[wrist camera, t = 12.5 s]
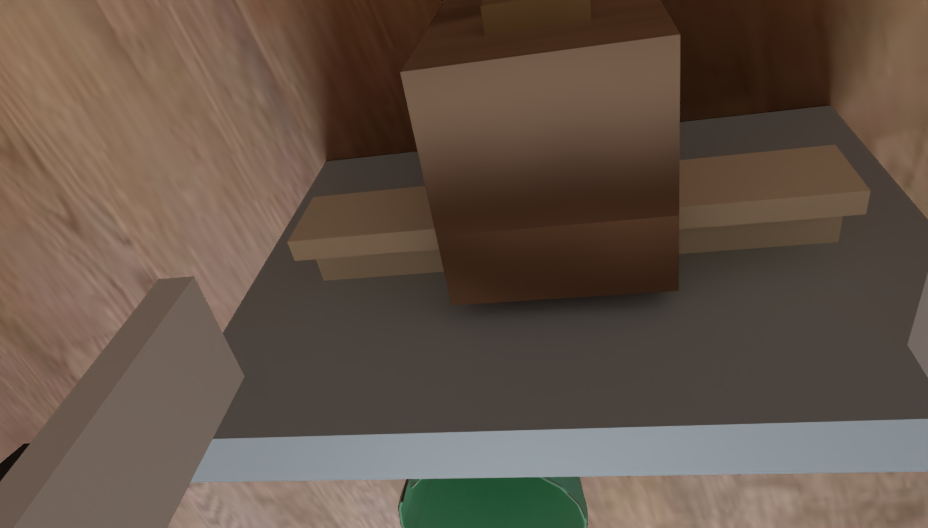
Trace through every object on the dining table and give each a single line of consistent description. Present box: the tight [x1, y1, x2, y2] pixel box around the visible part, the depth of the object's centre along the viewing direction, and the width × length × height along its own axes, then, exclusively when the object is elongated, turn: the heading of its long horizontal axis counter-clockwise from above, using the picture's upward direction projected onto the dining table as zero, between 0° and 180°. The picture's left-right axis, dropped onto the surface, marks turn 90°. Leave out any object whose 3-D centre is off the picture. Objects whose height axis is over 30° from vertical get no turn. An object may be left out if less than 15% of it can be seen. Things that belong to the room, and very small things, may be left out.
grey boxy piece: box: [191, 105, 928, 482], centre depth 26 cm, size 11×24×18 cm, turn 100°
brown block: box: [400, 0, 680, 305], centre depth 23 cm, size 9×7×10 cm
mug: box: [398, 477, 588, 528], centre depth 40 cm, size 15×10×10 cm
